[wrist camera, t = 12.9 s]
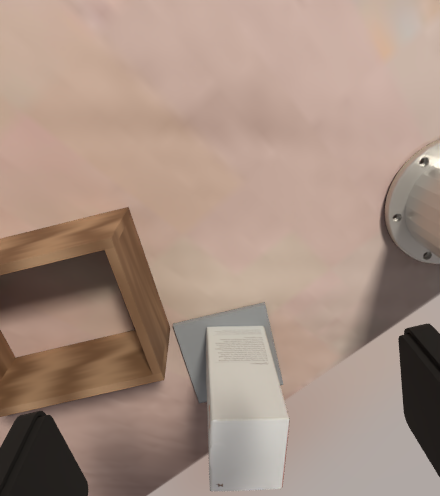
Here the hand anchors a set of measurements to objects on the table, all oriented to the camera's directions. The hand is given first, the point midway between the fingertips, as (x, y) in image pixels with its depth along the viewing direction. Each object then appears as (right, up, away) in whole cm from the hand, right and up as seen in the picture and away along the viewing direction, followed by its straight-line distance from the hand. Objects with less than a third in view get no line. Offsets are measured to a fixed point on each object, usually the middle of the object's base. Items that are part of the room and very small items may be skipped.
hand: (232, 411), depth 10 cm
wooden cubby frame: (-16, 0, +30) cm, 34 cm away
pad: (+1, -8, +34) cm, 35 cm away
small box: (+1, -7, +34) cm, 34 cm away
